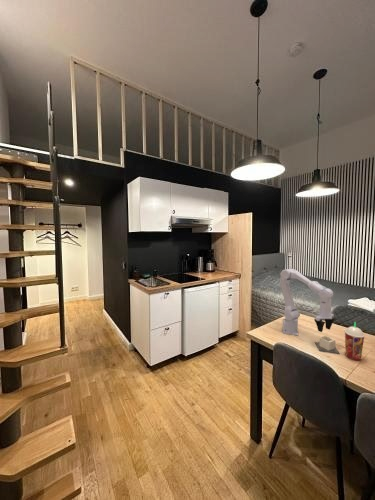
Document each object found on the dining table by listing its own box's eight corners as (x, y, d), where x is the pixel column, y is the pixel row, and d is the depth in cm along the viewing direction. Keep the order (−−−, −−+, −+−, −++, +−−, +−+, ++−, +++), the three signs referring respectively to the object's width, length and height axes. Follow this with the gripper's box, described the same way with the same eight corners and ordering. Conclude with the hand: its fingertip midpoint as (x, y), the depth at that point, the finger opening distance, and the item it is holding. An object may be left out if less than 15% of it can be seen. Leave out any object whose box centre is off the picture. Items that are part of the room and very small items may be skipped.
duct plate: (319, 351, 122) (319, 344, 121) (315, 342, 131) (315, 336, 131) (339, 354, 118) (339, 347, 118) (333, 345, 128) (334, 338, 127)
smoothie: (364, 363, 110) (366, 326, 108) (344, 358, 114) (346, 323, 113) (361, 356, 117) (363, 321, 115) (342, 351, 121) (344, 318, 120)
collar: (319, 345, 126) (319, 337, 126) (325, 343, 128) (325, 336, 128) (329, 350, 121) (329, 342, 120) (334, 348, 123) (335, 340, 123)
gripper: (324, 312, 120) (323, 335, 121) (339, 308, 127) (338, 330, 128) (312, 308, 127) (311, 330, 128) (327, 305, 133) (326, 325, 134)
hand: (324, 330), depth 128 cm, fingers open, 7 cm apart
